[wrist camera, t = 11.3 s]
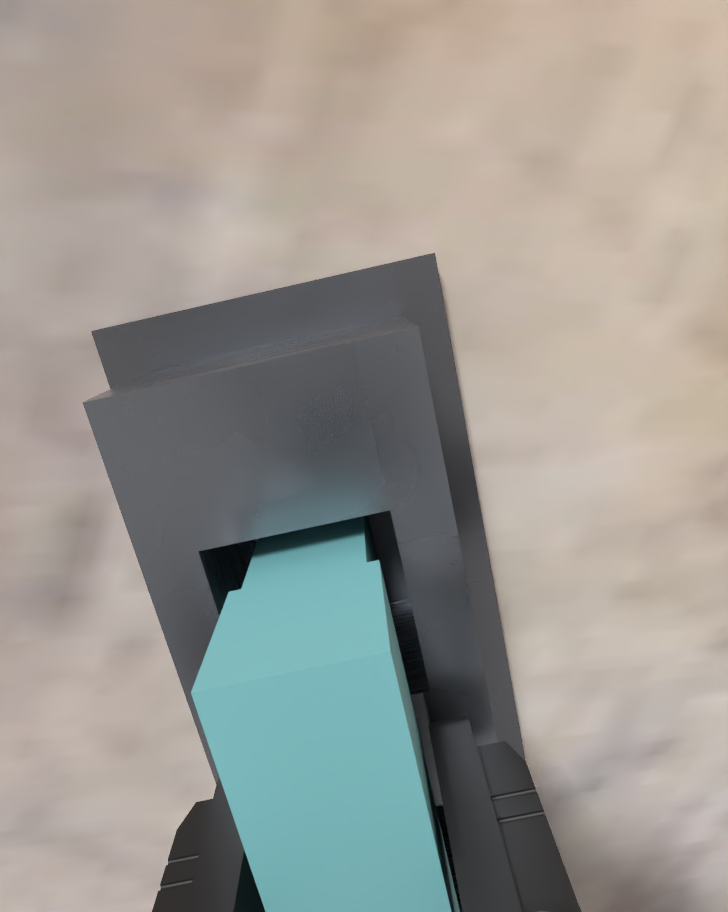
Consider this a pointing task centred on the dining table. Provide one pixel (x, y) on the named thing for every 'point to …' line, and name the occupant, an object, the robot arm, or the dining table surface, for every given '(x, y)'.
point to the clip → (322, 732)
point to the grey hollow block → (311, 471)
